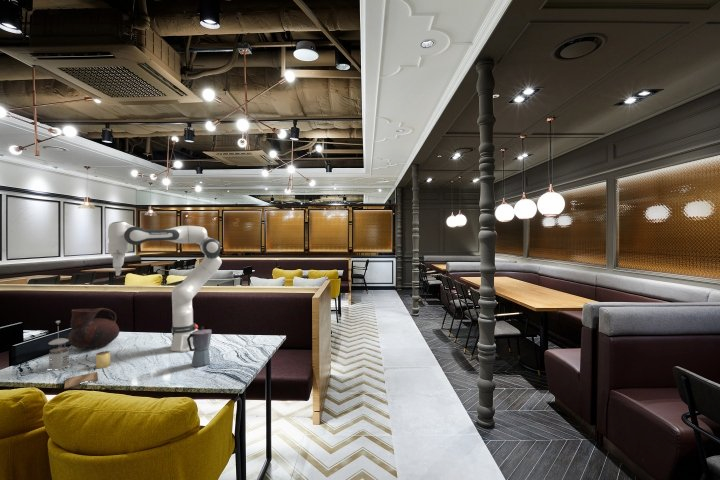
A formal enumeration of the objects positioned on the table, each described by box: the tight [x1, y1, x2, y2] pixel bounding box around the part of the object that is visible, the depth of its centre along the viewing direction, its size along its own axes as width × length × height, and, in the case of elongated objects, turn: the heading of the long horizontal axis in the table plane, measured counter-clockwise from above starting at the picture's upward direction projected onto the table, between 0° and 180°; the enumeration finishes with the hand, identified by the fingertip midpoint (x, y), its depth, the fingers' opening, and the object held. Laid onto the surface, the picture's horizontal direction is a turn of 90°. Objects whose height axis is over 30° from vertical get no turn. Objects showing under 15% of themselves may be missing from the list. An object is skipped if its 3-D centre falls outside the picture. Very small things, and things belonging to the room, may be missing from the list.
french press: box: [47, 320, 72, 370], centre depth 173 cm, size 10×12×25 cm
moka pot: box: [187, 326, 213, 367], centre depth 174 cm, size 10×15×20 cm, turn 161°
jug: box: [67, 307, 120, 350], centre depth 204 cm, size 25×25×25 cm
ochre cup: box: [95, 350, 111, 370], centre depth 173 cm, size 6×6×7 cm
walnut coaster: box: [63, 371, 99, 389], centre depth 157 cm, size 12×12×1 cm
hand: (118, 274), depth 183 cm, fingers open, 8 cm apart
